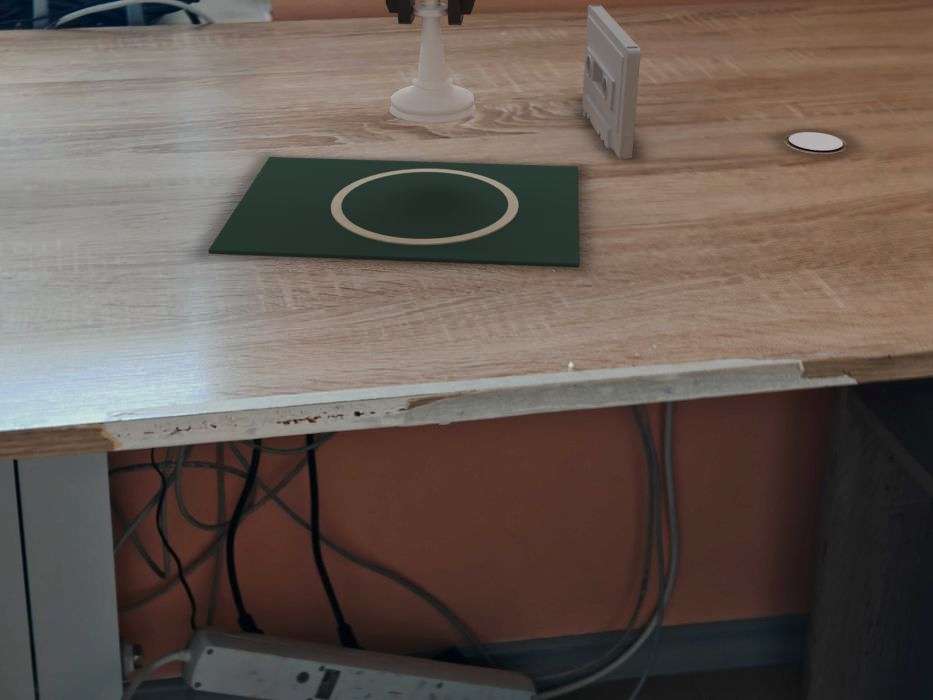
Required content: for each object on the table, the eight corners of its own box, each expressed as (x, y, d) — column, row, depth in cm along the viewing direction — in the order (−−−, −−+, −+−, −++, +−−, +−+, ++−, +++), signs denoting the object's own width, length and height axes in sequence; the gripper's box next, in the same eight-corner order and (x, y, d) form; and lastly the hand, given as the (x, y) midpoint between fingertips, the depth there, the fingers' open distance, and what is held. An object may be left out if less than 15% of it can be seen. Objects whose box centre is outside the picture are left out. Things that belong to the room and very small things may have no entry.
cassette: (639, 166, 71) (649, 49, 67) (611, 167, 71) (620, 50, 67) (599, 107, 81) (606, 3, 77) (575, 108, 81) (580, 4, 77)
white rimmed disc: (771, 148, 73) (773, 139, 73) (806, 135, 76) (807, 126, 75) (822, 165, 71) (824, 156, 71) (856, 151, 73) (858, 142, 73)
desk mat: (209, 263, 59) (207, 247, 58) (270, 167, 71) (268, 154, 70) (578, 277, 57) (579, 261, 57) (577, 177, 69) (577, 163, 69)
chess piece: (398, 94, 64) (392, -84, 59) (480, 98, 64) (481, -82, 59) (381, 121, 60) (373, -68, 55) (469, 125, 60) (469, -66, 55)
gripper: (260, -357, 48) (293, 37, 57) (573, -359, 47) (557, 42, 56) (296, -350, 54) (321, 3, 63) (573, -351, 53) (558, 7, 62)
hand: (432, 20), depth 59 cm, fingers closed on chess piece, 2 cm apart
